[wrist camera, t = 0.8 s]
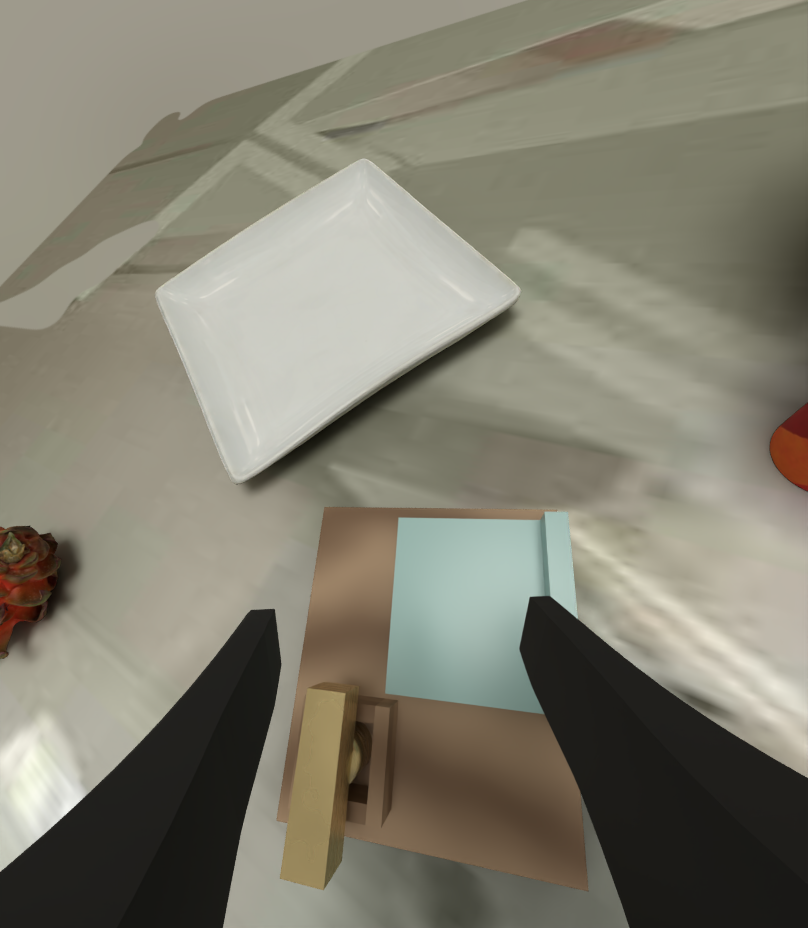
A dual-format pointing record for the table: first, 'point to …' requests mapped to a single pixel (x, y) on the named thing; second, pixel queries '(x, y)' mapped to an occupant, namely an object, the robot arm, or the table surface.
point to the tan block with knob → (323, 783)
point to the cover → (472, 605)
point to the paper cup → (792, 448)
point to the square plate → (322, 311)
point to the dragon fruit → (24, 577)
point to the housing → (431, 726)
